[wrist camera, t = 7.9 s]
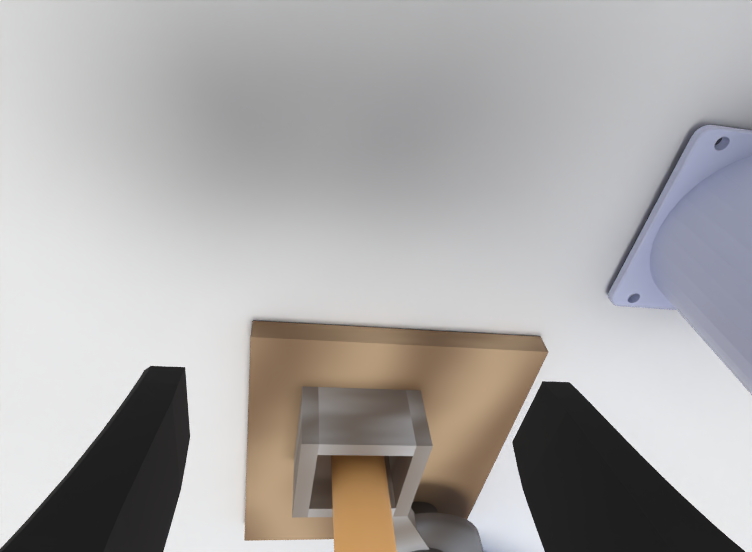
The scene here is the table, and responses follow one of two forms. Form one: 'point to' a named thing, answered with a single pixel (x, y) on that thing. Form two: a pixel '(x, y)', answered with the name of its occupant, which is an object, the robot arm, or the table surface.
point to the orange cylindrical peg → (361, 504)
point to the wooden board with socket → (380, 424)
